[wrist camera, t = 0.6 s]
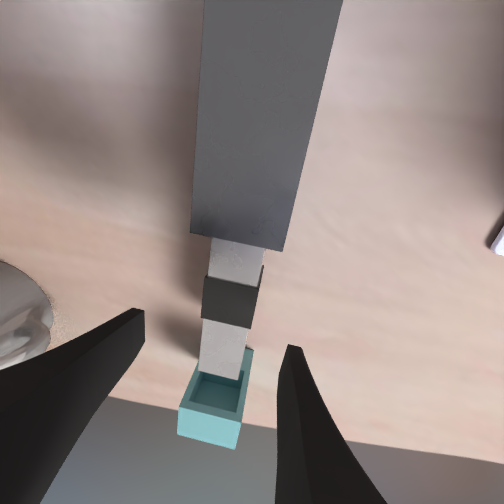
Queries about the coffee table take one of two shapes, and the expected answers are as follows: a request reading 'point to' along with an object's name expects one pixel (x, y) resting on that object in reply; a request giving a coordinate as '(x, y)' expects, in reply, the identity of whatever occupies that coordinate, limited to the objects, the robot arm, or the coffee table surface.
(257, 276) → the metal square rod
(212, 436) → the teal socket
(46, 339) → the coffee mug
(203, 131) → the graphite sleeve
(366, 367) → the coffee table surface
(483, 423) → the coffee table surface
